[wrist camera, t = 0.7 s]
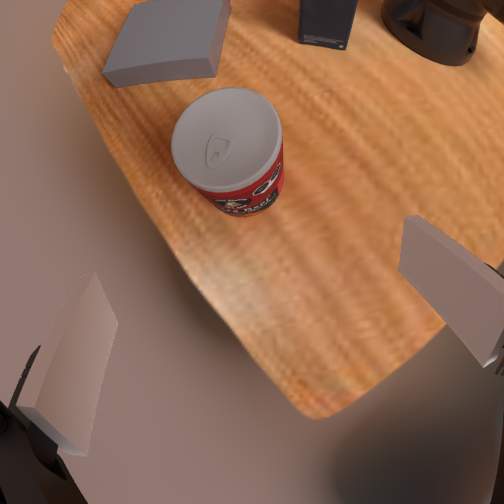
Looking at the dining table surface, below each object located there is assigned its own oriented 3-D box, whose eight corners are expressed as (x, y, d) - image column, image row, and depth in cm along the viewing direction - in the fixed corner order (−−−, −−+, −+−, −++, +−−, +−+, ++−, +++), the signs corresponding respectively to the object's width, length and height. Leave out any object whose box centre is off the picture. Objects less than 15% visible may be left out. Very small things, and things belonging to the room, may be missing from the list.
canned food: (206, 218, 30) (163, 191, 19) (211, 145, 30) (177, 90, 19) (283, 220, 29) (281, 190, 18) (284, 144, 29) (282, 84, 18)
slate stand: (231, 8, 31) (226, -11, 27) (215, 77, 31) (207, 57, 27) (143, 20, 33) (134, 4, 29) (116, 88, 32) (101, 73, 28)
